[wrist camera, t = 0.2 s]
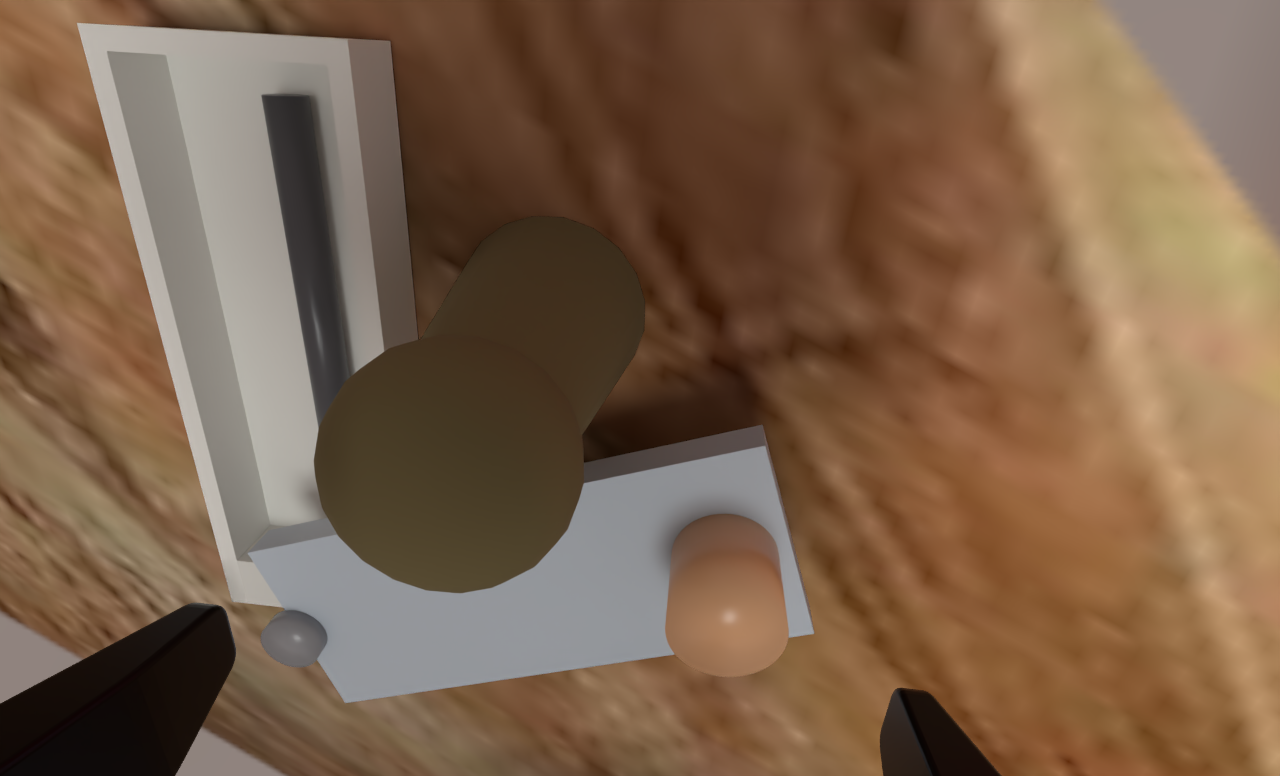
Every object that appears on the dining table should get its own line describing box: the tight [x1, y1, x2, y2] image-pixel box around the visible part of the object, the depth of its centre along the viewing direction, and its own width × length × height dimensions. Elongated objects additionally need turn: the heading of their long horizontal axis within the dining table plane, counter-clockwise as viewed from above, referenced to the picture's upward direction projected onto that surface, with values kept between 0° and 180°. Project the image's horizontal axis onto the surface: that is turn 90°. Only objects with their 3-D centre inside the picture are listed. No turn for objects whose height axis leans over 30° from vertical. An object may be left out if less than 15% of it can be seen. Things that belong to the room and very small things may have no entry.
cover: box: [248, 425, 814, 703], centre depth 21 cm, size 18×7×4 cm, turn 107°
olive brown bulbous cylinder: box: [314, 216, 645, 593], centre depth 17 cm, size 6×6×11 cm
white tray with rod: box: [77, 23, 418, 607], centre depth 22 cm, size 19×7×2 cm, turn 178°
